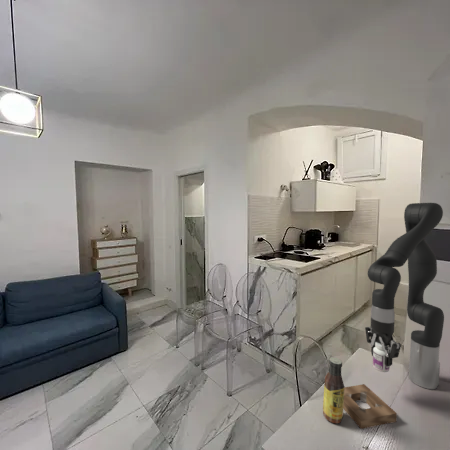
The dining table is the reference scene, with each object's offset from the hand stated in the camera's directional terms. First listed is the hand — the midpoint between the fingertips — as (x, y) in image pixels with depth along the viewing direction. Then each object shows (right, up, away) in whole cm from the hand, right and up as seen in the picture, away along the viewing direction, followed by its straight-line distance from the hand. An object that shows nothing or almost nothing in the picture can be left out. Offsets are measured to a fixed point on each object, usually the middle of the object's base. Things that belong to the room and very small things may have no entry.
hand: (381, 360), depth 91 cm
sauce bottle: (-23, -14, -9) cm, 29 cm away
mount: (-10, -14, -6) cm, 18 cm away
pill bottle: (0, -3, 0) cm, 3 cm away
